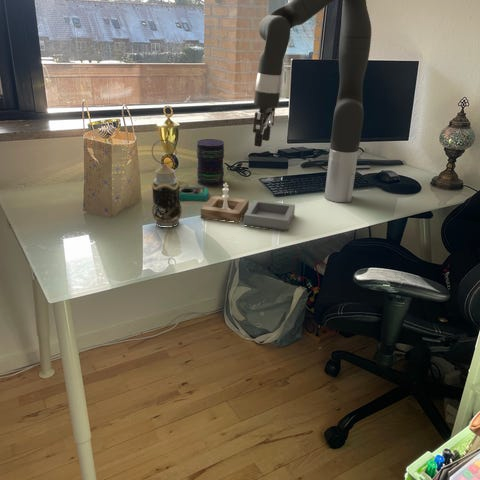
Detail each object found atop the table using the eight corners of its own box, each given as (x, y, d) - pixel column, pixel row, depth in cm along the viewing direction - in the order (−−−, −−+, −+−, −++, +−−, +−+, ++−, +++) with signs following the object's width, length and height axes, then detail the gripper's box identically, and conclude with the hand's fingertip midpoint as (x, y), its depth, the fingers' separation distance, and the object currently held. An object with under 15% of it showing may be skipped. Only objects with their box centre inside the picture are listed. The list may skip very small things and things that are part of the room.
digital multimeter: (207, 202, 154) (207, 193, 153) (163, 200, 154) (162, 192, 152) (208, 194, 161) (208, 186, 159) (166, 193, 160) (166, 185, 159)
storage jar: (195, 178, 174) (194, 139, 168) (220, 177, 176) (221, 138, 170) (199, 187, 166) (199, 146, 159) (226, 185, 168) (226, 145, 161)
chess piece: (227, 217, 141) (228, 186, 137) (214, 213, 144) (214, 183, 139) (236, 212, 145) (236, 182, 141) (223, 209, 147) (223, 179, 143)
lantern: (151, 229, 132) (145, 143, 121) (153, 218, 139) (148, 136, 129) (181, 228, 133) (179, 143, 122) (182, 217, 140) (180, 136, 129)
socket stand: (248, 208, 148) (248, 200, 147) (238, 223, 138) (238, 213, 136) (213, 204, 151) (213, 195, 150) (200, 217, 141) (200, 208, 139)
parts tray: (294, 215, 144) (295, 204, 143) (286, 231, 133) (287, 220, 132) (254, 210, 147) (254, 199, 146) (243, 225, 136) (244, 215, 135)
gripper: (273, 94, 130) (267, 150, 137) (285, 88, 142) (279, 140, 149) (248, 90, 132) (243, 146, 139) (262, 85, 144) (257, 136, 151)
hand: (261, 143), depth 144 cm, fingers open, 8 cm apart
